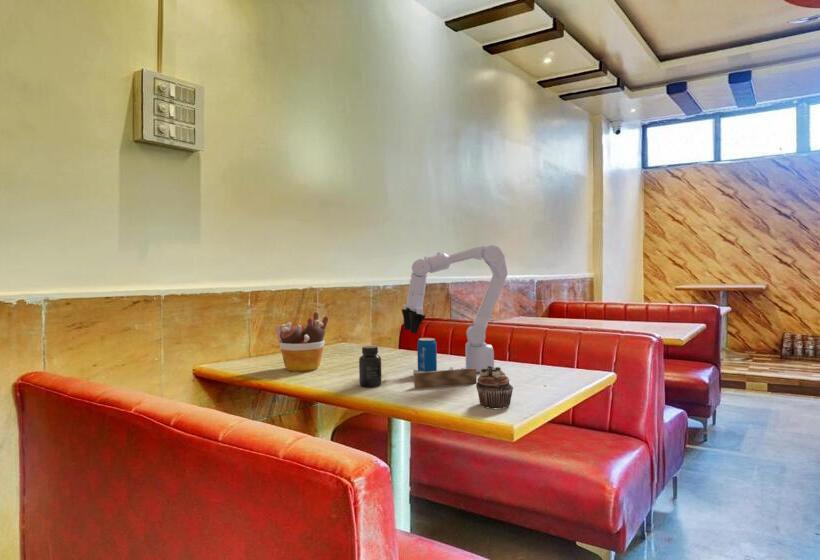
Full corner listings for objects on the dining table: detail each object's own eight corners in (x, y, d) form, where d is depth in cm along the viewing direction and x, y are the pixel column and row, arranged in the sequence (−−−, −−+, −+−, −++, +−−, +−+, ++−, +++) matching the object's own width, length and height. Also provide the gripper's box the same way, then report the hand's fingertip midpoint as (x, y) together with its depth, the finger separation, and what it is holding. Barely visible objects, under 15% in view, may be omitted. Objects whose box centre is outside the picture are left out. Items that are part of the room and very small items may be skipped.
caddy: (461, 375, 183) (460, 361, 182) (476, 383, 170) (476, 368, 170) (403, 379, 177) (403, 365, 177) (415, 388, 165) (415, 373, 165)
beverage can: (414, 375, 184) (414, 339, 184) (423, 371, 190) (422, 337, 189) (431, 376, 181) (431, 340, 181) (439, 373, 187) (439, 338, 186)
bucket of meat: (303, 375, 185) (302, 317, 185) (266, 371, 193) (265, 315, 192) (338, 365, 203) (337, 312, 202) (303, 362, 211) (302, 311, 210)
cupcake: (509, 411, 138) (509, 371, 138) (472, 407, 142) (471, 369, 141) (516, 401, 147) (516, 365, 147) (481, 399, 151) (481, 363, 150)
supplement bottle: (359, 383, 173) (359, 345, 172) (381, 382, 173) (380, 345, 173) (359, 388, 166) (358, 349, 165) (381, 387, 166) (381, 348, 166)
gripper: (399, 289, 197) (394, 326, 197) (411, 294, 183) (405, 334, 184) (418, 292, 199) (412, 328, 200) (431, 296, 185) (425, 336, 186)
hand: (410, 331), depth 192 cm, fingers open, 7 cm apart
